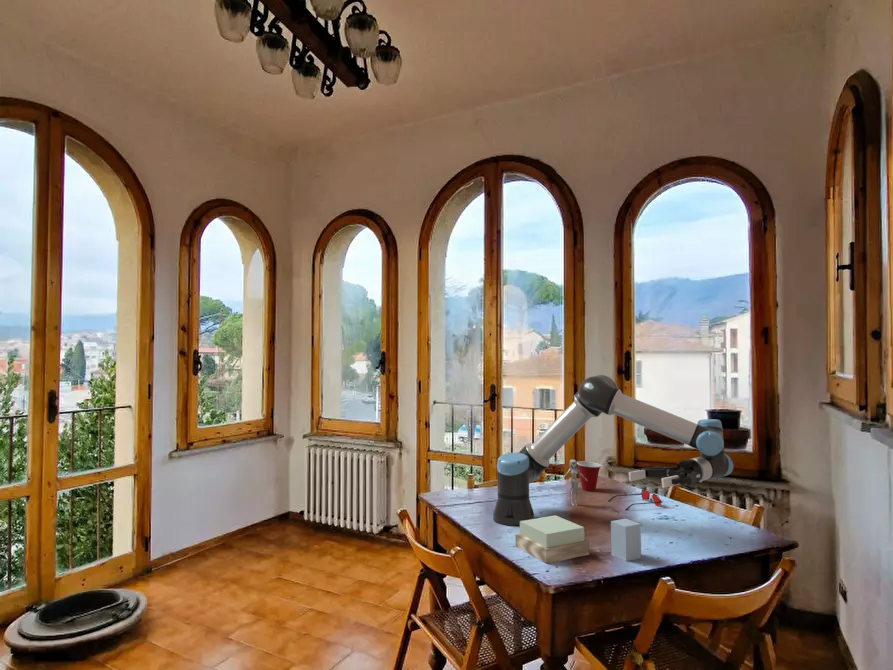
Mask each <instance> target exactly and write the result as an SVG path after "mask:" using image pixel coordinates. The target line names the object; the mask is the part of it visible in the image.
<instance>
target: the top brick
mask: <svg viewBox="0 0 893 670" xmlns="http://www.w3.org/2000/svg"><path fill="white" fill-rule="evenodd" d="M519 533H520V534H521V535H523V536H525V537H527V538H528V539H530V540H532V541H534V542H536V543H538V544H540V545H542V546H544V547H546V548H549V547H555V546H560V545H565V544H570V543H575V542H580V541H584V539H585V527H584V526H582V525H579V524H578V523H574V522H573V521H570V520H567V519H565V518H562V517H560V516H558V515H549V516H543V517H539V518H534V519H530V520H524V521H520V525H519Z"/></svg>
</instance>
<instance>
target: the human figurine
mask: <svg viewBox="0 0 893 670" xmlns="http://www.w3.org/2000/svg"><path fill="white" fill-rule="evenodd" d="M568 474H571V477H570V478H569V479H568V483H569V486H570V490H571V492H570V500H571V503H570V504H571V505H572V506H573V507H574V506H576V507H577V506H578V504H577V503H578V502H577V498H578V497H577V495H578V487H579V481H578V480H579V479H578V477H577V475H578V474H579V476H580V475H581V476H582V477H584V476H583V474H581V473H580V472H579V469H578V467H577V460H576V459H570V460H569V469H568V471H567V472H566V473H565V474H564V475H563V477H561V478H560V480H559V482H562V481H563V479H564V478H565V477H567V475H568ZM584 478H585V477H584ZM585 479H586V478H585ZM586 481H588V480H587V479H586Z"/></svg>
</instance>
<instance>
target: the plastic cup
mask: <svg viewBox="0 0 893 670" xmlns="http://www.w3.org/2000/svg"><path fill="white" fill-rule="evenodd" d="M576 466H577V469H578V470H579V472H580V473H581V474H583V476H584V477H585V478H586V479H587V480H588V481H586V479H585V478H584V477H582V476H581V475H580V474H579V480H580V484H581V489H582V491H584V490H585V492H595V491H596V489H597V483H598V479H599V472H600V470H601V467H602V464H600V463H598V462H594V461H584V460H583V461H580V460H579V461H576Z"/></svg>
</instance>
